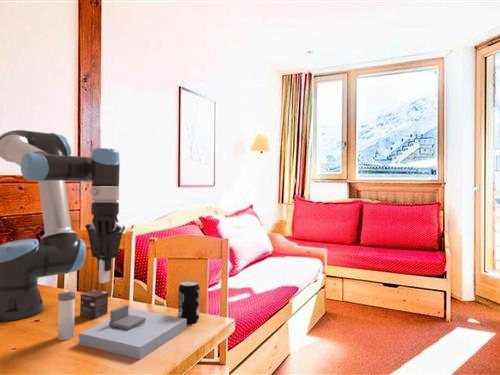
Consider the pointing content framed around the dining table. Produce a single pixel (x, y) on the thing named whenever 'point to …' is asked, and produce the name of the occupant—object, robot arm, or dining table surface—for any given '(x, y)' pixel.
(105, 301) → the box
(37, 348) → the dining table surface
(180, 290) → the beverage can
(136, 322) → the grey l-shaped block
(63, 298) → the plug
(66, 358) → the dining table surface
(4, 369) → the dining table surface
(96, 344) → the socket board
